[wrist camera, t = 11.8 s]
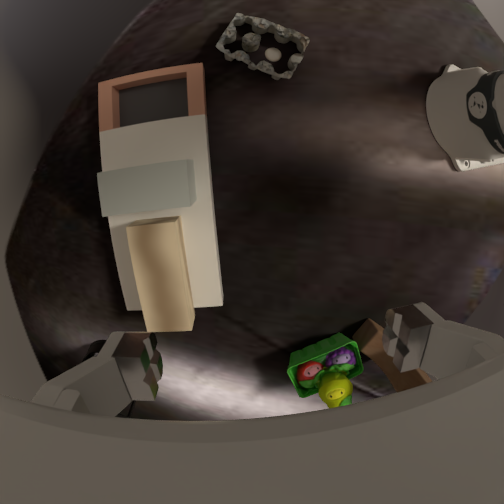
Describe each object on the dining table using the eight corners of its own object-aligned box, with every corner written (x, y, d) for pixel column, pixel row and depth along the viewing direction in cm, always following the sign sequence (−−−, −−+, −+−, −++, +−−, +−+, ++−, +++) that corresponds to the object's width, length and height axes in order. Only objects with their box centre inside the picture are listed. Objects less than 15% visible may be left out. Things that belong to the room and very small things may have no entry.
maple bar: (180, 215, 36) (174, 221, 32) (195, 315, 40) (191, 330, 37) (136, 220, 36) (125, 227, 32) (154, 317, 40) (147, 332, 36)
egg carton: (307, 49, 33) (315, 38, 30) (283, 89, 35) (289, 82, 31) (239, 16, 31) (240, 4, 27) (212, 56, 33) (210, 45, 29)
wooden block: (350, 336, 47) (394, 410, 30) (367, 316, 46) (420, 385, 29) (381, 355, 49) (425, 422, 32) (397, 337, 48) (448, 401, 31)
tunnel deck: (204, 69, 34) (197, 47, 25) (223, 296, 43) (221, 326, 35) (106, 87, 33) (80, 73, 25) (133, 301, 43) (115, 329, 35)
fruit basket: (345, 322, 46) (371, 364, 35) (356, 359, 49) (379, 401, 38) (280, 349, 47) (292, 397, 36) (297, 384, 49) (309, 430, 39)
